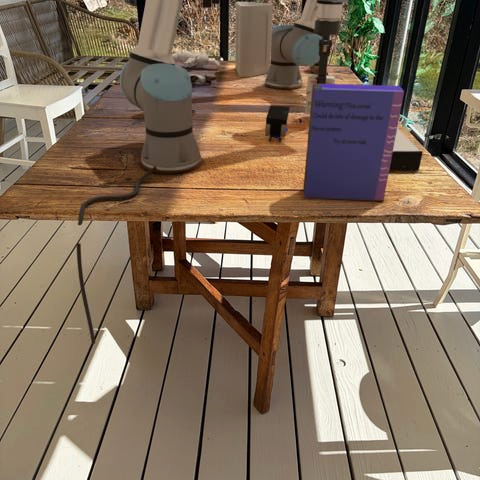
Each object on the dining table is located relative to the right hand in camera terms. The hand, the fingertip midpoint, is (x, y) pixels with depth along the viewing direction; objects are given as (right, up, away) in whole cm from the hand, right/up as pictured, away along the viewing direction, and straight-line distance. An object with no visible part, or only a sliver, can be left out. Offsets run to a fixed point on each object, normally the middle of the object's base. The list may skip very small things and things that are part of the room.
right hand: (211, 5), depth 159 cm
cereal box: (+33, -68, -51) cm, 91 cm away
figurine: (-15, -14, +37) cm, 42 cm away
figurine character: (+20, -48, -17) cm, 55 cm away
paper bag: (+16, -2, +58) cm, 61 cm away
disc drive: (+46, -55, -29) cm, 77 cm away
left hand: (+35, -32, -5) cm, 48 cm away
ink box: (+35, -36, -2) cm, 51 cm away
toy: (-15, +3, +66) cm, 67 cm away
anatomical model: (+45, +1, +63) cm, 77 cm away
